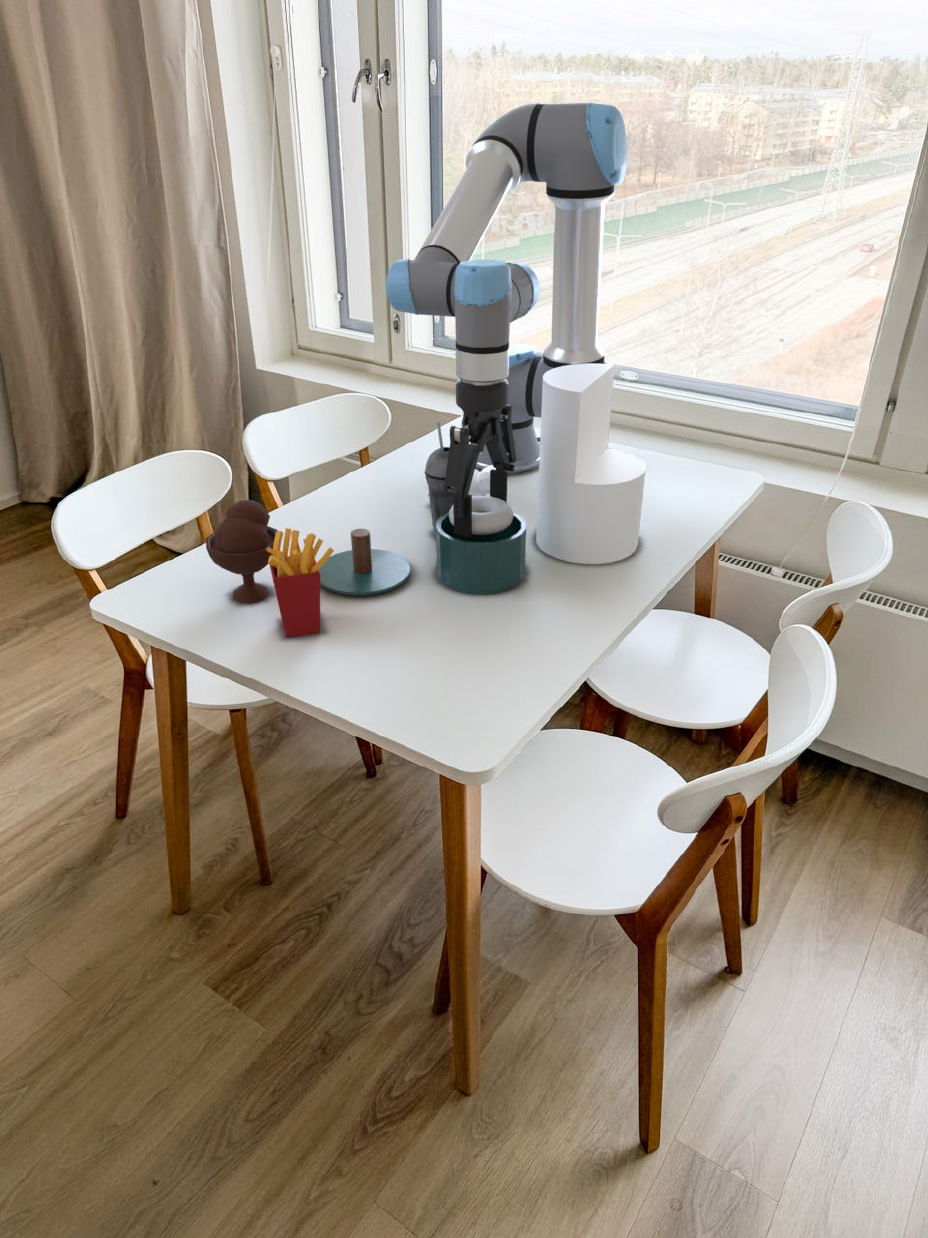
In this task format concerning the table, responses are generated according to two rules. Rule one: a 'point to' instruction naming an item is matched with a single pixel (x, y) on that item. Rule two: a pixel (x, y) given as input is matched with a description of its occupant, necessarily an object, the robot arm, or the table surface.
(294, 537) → the french fries
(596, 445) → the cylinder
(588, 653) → the table surface
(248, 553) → the ice cream bowl
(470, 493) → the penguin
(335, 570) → the tin lid
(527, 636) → the table surface
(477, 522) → the donut
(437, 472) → the beverage cup
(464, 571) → the tin
